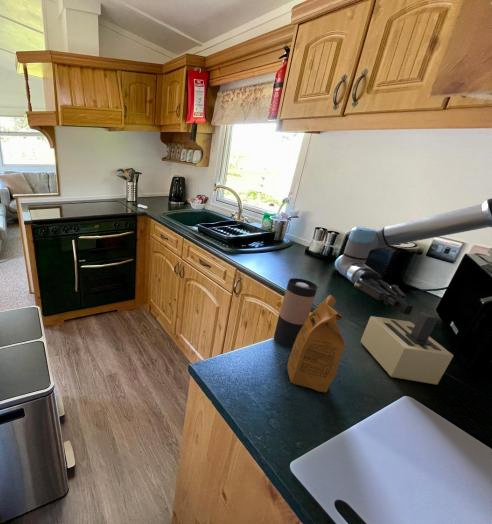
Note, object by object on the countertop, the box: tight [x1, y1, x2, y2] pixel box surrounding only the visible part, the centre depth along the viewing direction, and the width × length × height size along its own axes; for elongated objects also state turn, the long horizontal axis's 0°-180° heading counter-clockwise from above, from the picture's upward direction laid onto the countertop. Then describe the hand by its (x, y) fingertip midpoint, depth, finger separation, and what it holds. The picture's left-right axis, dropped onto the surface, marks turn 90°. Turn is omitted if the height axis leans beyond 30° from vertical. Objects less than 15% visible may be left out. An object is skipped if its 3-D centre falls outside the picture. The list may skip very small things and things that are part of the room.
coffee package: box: [286, 294, 346, 393], centre depth 72 cm, size 10×12×22 cm
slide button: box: [405, 312, 439, 346], centre depth 75 cm, size 4×4×8 cm
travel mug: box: [273, 277, 319, 349], centre depth 86 cm, size 8×8×20 cm
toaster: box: [359, 315, 454, 385], centre depth 82 cm, size 16×11×10 cm
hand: (408, 310), depth 81 cm, fingers closed
